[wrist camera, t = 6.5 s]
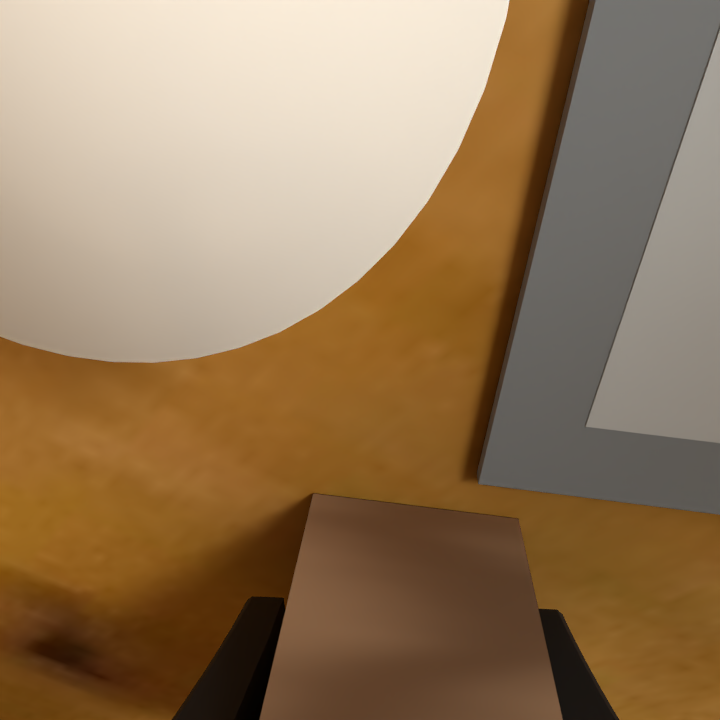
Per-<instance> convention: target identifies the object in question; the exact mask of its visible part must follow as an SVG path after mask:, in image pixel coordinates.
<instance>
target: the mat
mask: <svg viewBox="0 0 720 720" xmlns="http://www.w3.org/2000/svg"><path fill="white" fill-rule="evenodd" d="M477 478H478V484H483V485H490V486H498V487H506V488H514V489H522V490H530V491H538V492H546V493H554V494H561V495H569V496H577V497H585V498H593V499H601V500H609V501H617V502H624V503H632V504H640V505H648V506H656V507H664V508H672V509H680V510H688V511H695V512H703V513H711V514H719V515H720V0H589V5H588V9H587V13H586V17H585V21H584V26H583V30H582V34H581V38H580V42H579V47H578V51H577V55H576V59H575V63H574V68H573V72H572V76H571V80H570V84H569V89H568V93H567V97H566V101H565V105H564V110H563V114H562V118H561V122H560V126H559V131H558V135H557V139H556V143H555V147H554V151H553V156H552V160H551V164H550V168H549V172H548V177H547V181H546V185H545V189H544V193H543V198H542V202H541V206H540V210H539V214H538V219H537V223H536V227H535V231H534V235H533V240H532V244H531V248H530V252H529V256H528V261H527V265H526V269H525V273H524V277H523V282H522V286H521V290H520V294H519V298H518V302H517V307H516V311H515V315H514V319H513V323H512V328H511V332H510V336H509V340H508V344H507V349H506V353H505V357H504V361H503V365H502V370H501V374H500V378H499V382H498V386H497V391H496V395H495V399H494V403H493V407H492V412H491V416H490V420H489V424H488V428H487V433H486V437H485V441H484V445H483V449H482V453H481V458H480V462H479V466H478V470H477Z"/></svg>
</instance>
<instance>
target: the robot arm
mask: <svg viewBox="0 0 720 720" xmlns="http://www.w3.org/2000/svg"><path fill="white" fill-rule="evenodd" d="M538 610H539V614H540V619H541V623H542V628H543V632H544V637H545V641H546V646H547V650H548V655H549V659H550V664H551V669H552V673H553V678H554V682H555V687H556V691H557V696H558V700H559V705H560V709H561V714H562V718H563V720H619V719H618V717H617V715H616V714H615V712H614V710H613V709H612V707H611V705H610V704H609V702H608V700H607V698H606V697H605V695H604V693H603V691H602V690H601V688H600V686H599V684H598V683H597V681H596V679H595V677H594V675H593V674H592V672H591V670H590V668H589V666H588V664H587V663H586V661H585V659H584V657H583V655H582V653H581V651H580V649H579V647H578V645H577V643H576V642H575V640H574V637H573V635H572V633H571V631H570V629H569V627H568V625H567V623H566V621H565V619H564V617H563V615H562V614H561V613H560V612H559V611H558V610H552V609H538ZM284 614H285V605H284V598H275V597H251V598H250V599H248V600H247V602H246V603H245V605H244V607H243V609H242V611H241V613H240V614H239V616H238V618H237V619H236V621H235V623H234V625H233V626H232V628H231V630H230V631H229V633H228V635H227V636H226V638H225V640H224V641H223V643H222V645H221V646H220V648H219V650H218V651H217V653H216V654H215V656H214V657H213V659H212V661H211V662H210V664H209V665H208V667H207V669H206V670H205V672H204V673H203V675H202V676H201V678H200V679H199V681H198V682H197V684H196V685H195V687H194V688H193V689H192V691H191V692H190V694H189V695H188V697H187V698H186V700H185V701H184V703H183V704H182V706H181V707H180V709H179V710H178V712H177V713H176V715H175V716H174V717H173V719H172V720H259V719H260V715H261V711H262V707H263V703H264V698H265V694H266V690H267V686H268V682H269V677H270V673H271V669H272V665H273V661H274V656H275V652H276V648H277V644H278V640H279V635H280V631H281V627H282V623H283V619H284Z"/></svg>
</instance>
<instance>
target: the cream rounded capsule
mask: <svg viewBox="0 0 720 720" xmlns="http://www.w3.org/2000/svg"><path fill="white" fill-rule="evenodd" d="M508 5H509V0H0V337H3V338H6V339H8V340H11V341H14V342H17V343H19V344H22V345H26V346H30V347H34V348H38V349H42V350H46V351H50V352H54V353H58V354H62V355H66V356H72V357H79V358H86V359H94V360H101V361H108V362H147V363H156V362H165V361H174V360H184V359H193V358H199V357H204V356H208V355H212V354H216V353H220V352H224V351H228V350H233V349H237V348H240V347H243V346H245V345H248V344H250V343H253V342H256V341H258V340H261V339H263V338H266V337H268V336H271V335H274V334H276V333H279V332H281V331H283V330H284V329H286V328H288V327H290V326H292V325H293V324H295V323H297V322H299V321H301V320H302V319H304V318H306V317H308V316H310V315H311V314H313V313H315V312H317V311H318V310H320V309H321V308H323V307H324V306H325V305H327V304H328V303H329V302H331V301H332V300H333V299H335V298H336V297H337V296H339V295H340V294H341V293H343V292H344V291H345V290H347V289H348V288H349V287H351V286H352V285H353V284H355V283H356V282H357V281H358V280H359V279H360V278H361V277H362V276H363V275H364V274H365V273H366V272H367V271H368V270H369V269H371V268H372V267H373V266H374V265H375V264H376V263H377V262H378V261H379V260H380V259H381V258H382V257H383V256H384V255H385V254H386V253H387V252H388V251H389V250H390V249H391V248H392V247H393V246H394V245H395V243H396V242H397V241H398V239H399V238H400V237H401V235H402V234H403V233H404V232H405V230H406V229H407V228H408V226H409V225H410V224H411V223H412V221H413V220H414V219H415V217H416V216H417V215H418V213H419V212H420V211H421V210H422V208H423V207H424V206H425V204H426V203H427V202H428V200H429V199H430V197H431V195H432V193H433V192H434V190H435V188H436V187H437V185H438V183H439V181H440V180H441V178H442V176H443V175H444V173H445V171H446V170H447V168H448V166H449V164H450V163H451V161H452V159H453V158H454V156H455V154H456V153H457V151H458V149H459V147H460V144H461V142H462V140H463V137H464V135H465V133H466V131H467V128H468V126H469V124H470V121H471V119H472V117H473V114H474V112H475V110H476V108H477V105H478V103H479V101H480V98H481V96H482V94H483V91H484V89H485V86H486V83H487V79H488V76H489V73H490V70H491V66H492V63H493V60H494V56H495V53H496V50H497V46H498V43H499V40H500V37H501V33H502V30H503V27H504V23H505V20H506V16H507V10H508Z"/></svg>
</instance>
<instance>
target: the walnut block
mask: <svg viewBox="0 0 720 720" xmlns="http://www.w3.org/2000/svg"><path fill="white" fill-rule="evenodd" d="M259 720H563V718H562V714H561V709H560V705H559V700H558V696H557V691H556V687H555V682H554V678H553V673H552V669H551V664H550V659H549V655H548V650H547V646H546V641H545V637H544V632H543V628H542V623H541V619H540V614H539V610H538V605H537V601H536V596H535V592H534V587H533V582H532V578H531V573H530V569H529V564H528V560H527V555H526V551H525V546H524V542H523V537H522V533H521V528H520V524H519V519H516V518H508V517H500V516H492V515H484V514H476V513H468V512H459V511H451V510H443V509H435V508H427V507H419V506H411V505H403V504H395V503H387V502H379V501H371V500H363V499H354V498H346V497H338V496H330V495H322V494H314V493H313V497H312V501H311V505H310V509H309V513H308V518H307V522H306V526H305V530H304V534H303V539H302V543H301V547H300V551H299V555H298V560H297V564H296V568H295V572H294V576H293V581H292V585H291V589H290V593H289V597H288V602H287V606H286V610H285V614H284V619H283V623H282V627H281V631H280V635H279V640H278V644H277V648H276V652H275V656H274V661H273V665H272V669H271V673H270V677H269V682H268V686H267V690H266V694H265V698H264V703H263V707H262V711H261V715H260V719H259Z"/></svg>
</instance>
